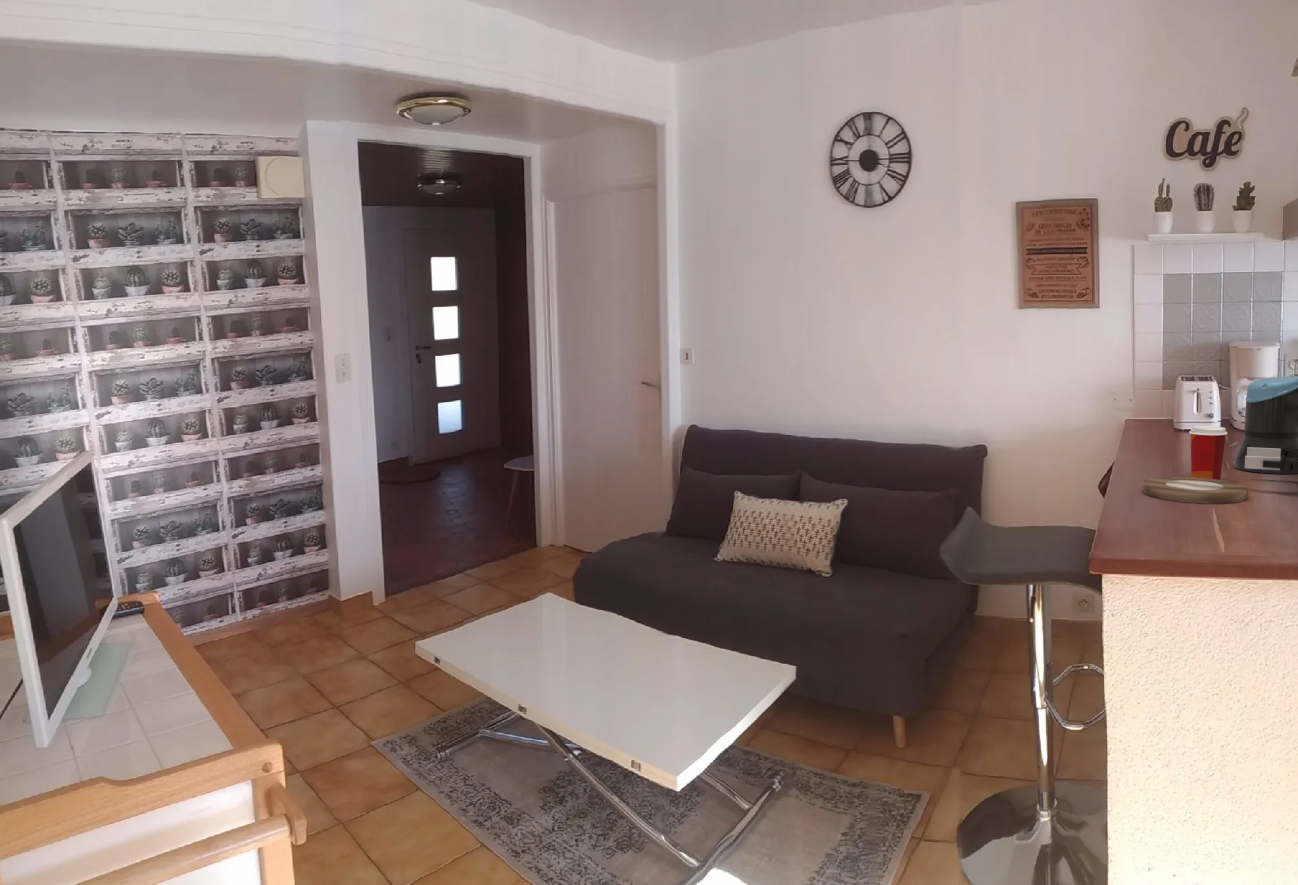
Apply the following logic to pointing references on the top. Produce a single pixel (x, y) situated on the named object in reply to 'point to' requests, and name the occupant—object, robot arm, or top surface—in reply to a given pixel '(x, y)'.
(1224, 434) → the paper cup
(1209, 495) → the disc
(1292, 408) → the robot arm
